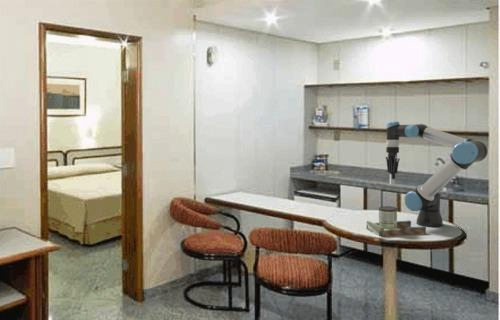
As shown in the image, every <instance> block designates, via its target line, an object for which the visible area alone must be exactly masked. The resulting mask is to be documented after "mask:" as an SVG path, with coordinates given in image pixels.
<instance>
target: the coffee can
mask: <svg viewBox="0 0 500 320" xmlns="http://www.w3.org/2000/svg"><path fill="white" fill-rule="evenodd" d="M397 221H398V208H397V207H395V206H388V205H386V206H380V207H378V223H379V226H382V227H384V229H393V228H397Z"/></svg>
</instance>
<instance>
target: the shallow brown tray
mask: <svg viewBox="0 0 500 320" xmlns="http://www.w3.org/2000/svg"><path fill="white" fill-rule="evenodd" d="M367 229H368V230H367ZM366 230H367V231H369V230H370V231H369V232H371V231H372V232H371V233H373V232H374V233H376V234H377V235H376V234H375V235H376V236H378V235H379V237H380V236H381V237H391V236H392V237H394V236H405V235H406V236H407V235H409V236H410V235H421V234H423V235H424V234H426V232H427V231H426V230H427V226H413V227H412V221H411V220H397V228H393V229H384V227H382V226H379V222H373V221H371V220H366ZM374 233H373V234H374Z"/></svg>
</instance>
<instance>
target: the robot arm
mask: <svg viewBox="0 0 500 320" xmlns="http://www.w3.org/2000/svg"><path fill="white" fill-rule="evenodd" d="M385 129H386V141H385V143H386V149H385V150H386V153H387V156H385V160H386V167H387V168H386V169H387V173H389V185H396V183H395V182H396V180H395V179H396V174H398V169H399V162H400V157H399V158H398V154H399V152H400V138H409V139H410V138H417V137H418V138H421V139H424V140H427V141H430V142H432V143H435V144H439V145H441V146H444V147H447V148H450V149H451V150H452V151H451V152H450V154H449V159H448V160H447V161H446V162H445V163H443V164H442V165H441V167H440V168H438V170H436V172H435V173H433V174H432V175H431V176H430V177H429V178H428V179H427V180H426V181H425V182H424V183H423V184H419V185H417V186H416V187H415V188H414V189H413V190H411V191H409V192H407V193H405V195H404V199H403V200H404V205H405V207H406V209H408V210H409V211H412V212H418V215H417V218H416V224H417V225H418V226H421V227H423V226H424V227H430V228H431V227H432V228H433V227H435V228H436V227H442V226H443V224H444V222H443V221H444V220H443V218H442V215H441V190H442V189H443V188H444V187H445V186H446V185H448V183H449V182H450V181H452V179H454V178H455V177H456V176H457V175H458V174H459V173H460V172H461V171H462V170H464V171H465V170H467V169H468V168H470V167H471V166H472V165H473V164H474V163H479V162H482V161H484V159H486V158H487V156H488V154H489V149H488V147H487V144H485V142H483V141H480V140H477V139H472V138H464V137H460V136H458V135H454V134H451V133H448V132H445V131H442V130H439V129H436V128H433V127H430V126H428V125H427V124H423V123H418V124H417V123H416V124H400V121H388V122H386V128H385Z"/></svg>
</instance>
